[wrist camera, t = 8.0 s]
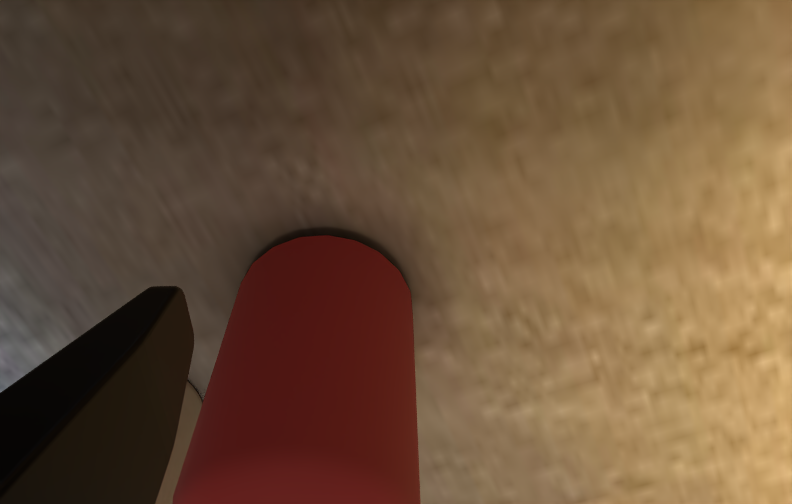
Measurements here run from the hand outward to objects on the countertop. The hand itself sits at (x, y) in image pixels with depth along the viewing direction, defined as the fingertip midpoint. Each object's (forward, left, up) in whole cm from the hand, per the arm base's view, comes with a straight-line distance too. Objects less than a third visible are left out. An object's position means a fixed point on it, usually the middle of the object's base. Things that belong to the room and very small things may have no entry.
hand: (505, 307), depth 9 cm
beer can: (+4, -10, -13) cm, 17 cm away
